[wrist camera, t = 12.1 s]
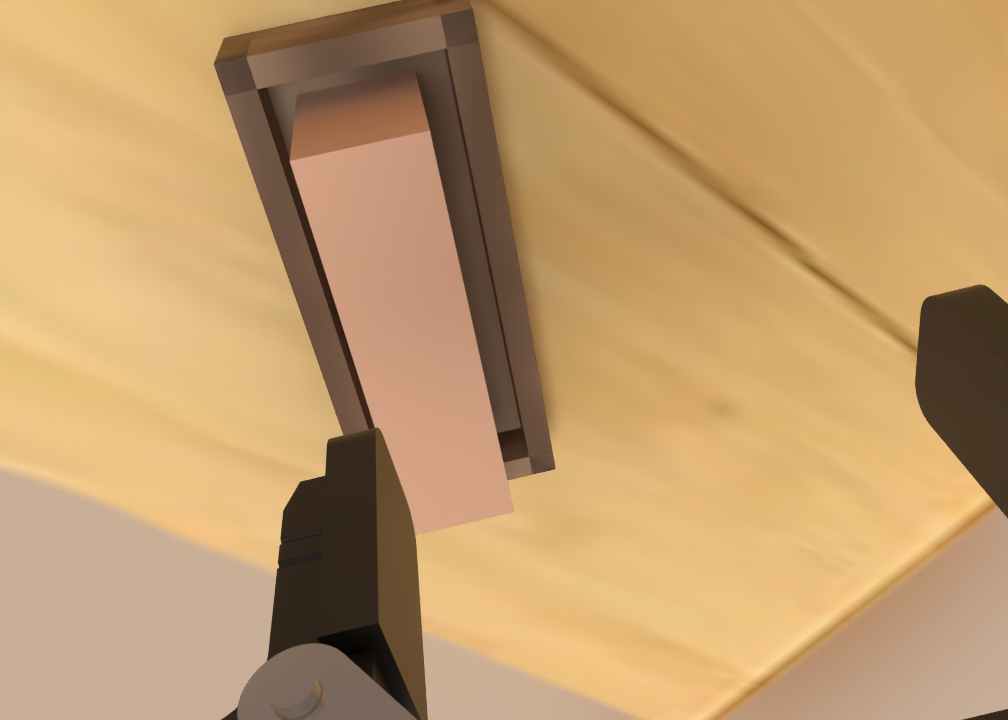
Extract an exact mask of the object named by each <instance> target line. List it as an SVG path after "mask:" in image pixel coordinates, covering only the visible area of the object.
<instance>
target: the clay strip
mask: <svg viewBox="0 0 1008 720" xmlns="http://www.w3.org/2000/svg"><path fill="white" fill-rule="evenodd" d="M290 164H291V167H292V170H293V173H294V176H295V180H296V183H297V186H298V189H299V192H300V195H301V198H302V201H303V205H304V208H305V211H306V214H307V217H308V220H309V223H310V226H311V230H312V233H313V236H314V239H315V242H316V245H317V248H318V251H319V255H320V258H321V261H322V264H323V267H324V270H325V273H326V276H327V280H328V283H329V286H330V289H331V292H332V295H333V298H334V301H335V305H336V308H337V311H338V314H339V317H340V320H341V323H342V326H343V330H344V333H345V336H346V339H347V342H348V345H349V348H350V351H351V355H352V358H353V361H354V364H355V367H356V370H357V373H358V376H359V380H360V383H361V386H362V389H363V392H364V395H365V398H366V401H367V405H368V408H369V411H370V414H371V417H372V420H373V423H374V426H375V428H377V427H378V428H379V429H380V430H381V432H382V434H383V436H384V439H385V442H386V444H387V447H388V450H389V453H390V455H391V458H392V461H393V464H394V466H395V469H396V472H397V475H398V477H399V480H400V483H401V486H402V488H403V491H404V494H405V497H406V499H407V502H408V505H409V509H410V513H411V517H412V521H413V526H414V531H415V535H417V534H421V533H425V532H429V531H434V530H438V529H442V528H447V527H451V526H455V525H459V524H464V523H468V522H472V521H477V520H481V519H485V518H490V517H494V516H498V515H502V514H507V513H511V512H514V508H513V504H512V499H511V495H510V490H509V486H508V481H507V477H506V472H505V468H504V463H503V459H502V454H501V450H500V445H499V441H498V436H497V432H496V427H495V422H494V418H493V413H492V409H491V404H490V400H489V395H488V391H487V386H486V382H485V377H484V373H483V368H482V364H481V359H480V355H479V350H478V346H477V341H476V337H475V332H474V328H473V323H472V319H471V314H470V310H469V305H468V300H467V296H466V291H465V287H464V282H463V278H462V273H461V269H460V264H459V260H458V255H457V251H456V246H455V242H454V237H453V233H452V228H451V224H450V219H449V215H448V210H447V206H446V201H445V197H444V192H443V188H442V183H441V178H440V174H439V169H438V165H437V160H436V156H435V151H434V147H433V142H432V138H431V133H430V129H429V125H428V121H427V117H426V113H425V109H424V105H423V101H422V97H421V93H420V89H419V85H418V81H417V77H416V73H415V70H410V71H405V72H401V73H396V74H391V75H387V76H382V77H378V78H373V79H368V80H364V81H359V82H354V83H350V84H345V85H340V86H336V87H331V88H326V89H322V90H317V91H313V92H308V93H303V94H299V95H297V101H296V109H295V118H294V127H293V135H292V144H291V153H290Z"/></svg>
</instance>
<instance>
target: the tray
mask: <svg viewBox="0 0 1008 720" xmlns="http://www.w3.org/2000/svg"><path fill="white" fill-rule="evenodd" d="M214 66H215V69H216V72H217V75H218V78H219V81H220V83H221V86H222V89H223V92H224V95H225V98H226V101H227V103H228V106H229V109H230V112H231V115H232V118H233V121H234V123H235V126H236V129H237V132H238V135H239V138H240V141H241V143H242V146H243V149H244V152H245V155H246V158H247V161H248V163H249V166H250V169H251V172H252V175H253V178H254V181H255V183H256V186H257V189H258V192H259V195H260V198H261V200H262V203H263V206H264V209H265V212H266V215H267V218H268V220H269V223H270V226H271V229H272V232H273V235H274V238H275V240H276V243H277V246H278V249H279V252H280V255H281V258H282V260H283V263H284V266H285V269H286V272H287V275H288V278H289V280H290V283H291V286H292V289H293V292H294V295H295V298H296V300H297V303H298V306H299V309H300V312H301V315H302V318H303V320H304V323H305V326H306V329H307V332H308V335H309V338H310V340H311V343H312V346H313V349H314V352H315V355H316V358H317V360H318V363H319V366H320V369H321V372H322V375H323V378H324V380H325V383H326V386H327V389H328V392H329V395H330V398H331V400H332V403H333V406H334V409H335V412H336V415H337V418H338V420H339V423H340V426H341V429H342V432H343V435H348V434H352V433H356V432H360V431H364V430H369V429H373V428H375V426H374V423H373V420H372V417H371V414H370V411H369V408H368V405H367V401H366V398H365V395H364V392H363V389H362V386H361V383H360V380H359V376H358V373H357V370H356V367H355V364H354V361H353V358H352V355H351V351H350V348H349V345H348V342H347V339H346V336H345V333H344V330H343V326H342V323H341V320H340V317H339V314H338V311H337V308H336V305H335V301H334V298H333V295H332V292H331V289H330V286H329V283H328V280H327V276H326V273H325V270H324V267H323V264H322V261H321V258H320V255H319V251H318V248H317V245H316V242H315V239H314V236H313V233H312V230H311V226H310V223H309V220H308V217H307V214H306V211H305V208H304V205H303V201H302V198H301V195H300V192H299V189H298V186H297V183H296V180H295V176H294V173H293V170H292V167H291V164H290V153H291V144H292V135H293V127H294V118H295V109H296V101H297V95H299V94H303V93H308V92H313V91H317V90H322V89H326V88H331V87H336V86H340V85H345V84H350V83H354V82H359V81H364V80H368V79H373V78H378V77H382V76H387V75H391V74H396V73H401V72H405V71H410V70H415V73H416V77H417V81H418V85H419V89H420V93H421V97H422V101H423V105H424V109H425V113H426V117H427V121H428V125H429V129H430V133H431V138H432V142H433V147H434V151H435V156H436V160H437V165H438V169H439V174H440V178H441V183H442V188H443V192H444V197H445V201H446V206H447V210H448V215H449V219H450V224H451V228H452V233H453V237H454V242H455V246H456V251H457V255H458V260H459V264H460V269H461V273H462V278H463V282H464V287H465V291H466V296H467V300H468V305H469V310H470V314H471V319H472V323H473V328H474V332H475V337H476V341H477V346H478V350H479V355H480V359H481V364H482V368H483V373H484V377H485V382H486V386H487V391H488V395H489V400H490V404H491V409H492V413H493V418H494V422H495V427H496V432H497V436H498V441H499V445H500V450H501V454H502V459H503V463H504V468H505V472H506V477H507V480H511V479H515V478H519V477H524V476H528V475H532V474H536V473H541V472H545V471H549V470H554V469H556V468H555V463H554V457H553V452H552V446H551V441H550V435H549V430H548V424H547V419H546V413H545V408H544V402H543V396H542V391H541V385H540V380H539V374H538V369H537V363H536V358H535V352H534V347H533V341H532V336H531V330H530V324H529V319H528V313H527V308H526V302H525V297H524V291H523V286H522V280H521V275H520V269H519V264H518V258H517V252H516V247H515V241H514V236H513V230H512V225H511V219H510V214H509V208H508V203H507V197H506V192H505V186H504V180H503V175H502V169H501V164H500V158H499V153H498V147H497V142H496V136H495V131H494V125H493V120H492V114H491V108H490V103H489V97H488V92H487V86H486V81H485V75H484V70H483V64H482V59H481V53H480V48H479V42H478V36H477V31H476V25H475V20H474V14H473V9H472V7H471V5H470V3H469V1H468V0H402V1H397V2H392V3H388V4H383V5H378V6H374V7H369V8H364V9H360V10H355V11H350V12H346V13H341V14H336V15H332V16H327V17H322V18H318V19H313V20H308V21H304V22H299V23H294V24H290V25H285V26H280V27H276V28H271V29H266V30H262V31H257V32H252V33H248V34H243V35H238V36H234V37H229V38H224V40H223V42H222V45H221V47H220V50H219V52H218V55H217V57H216V60H215V62H214Z"/></svg>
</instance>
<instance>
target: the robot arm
mask: <svg viewBox="0 0 1008 720" xmlns="http://www.w3.org/2000/svg"><path fill="white" fill-rule="evenodd" d="M915 387H916V394H917V399H918V402H919V405H920V408H921V410H922V413H923V415H924V417H925V418H926V420H927V421H928V423H929V424H930V425H931V427H932V428H933V429H934V430H935V431H936V433H937V434H938V435H939V436H940V437H941V439H942V440H943V441H944V442H945V443H946V445H947V446H948V447H949V448H950V449H951V451H952V452H953V453H954V454H955V455H956V457H957V458H958V459H959V460H960V461H961V463H962V464H963V465H964V466H965V467H966V469H967V470H968V471H969V472H970V473H971V475H972V476H973V477H974V478H975V479H976V481H977V482H978V483H979V484H980V485H981V487H982V488H983V489H984V490H985V491H986V493H987V494H988V495H989V496H990V497H991V499H992V500H993V501H994V502H995V503H996V505H997V506H998V507H999V508H1000V509H1001V511H1002V512H1003V513H1004V514H1005V515H1006V517H1007V518H1008V304H1007V303H1006V302H1005V301H1004V300H1003V299H1002V298H1000V297H999V296H998V295H997V294H996V293H995V292H993V291H992V290H991V289H990V288H988V287H987V286H985V285H975V286H971V287H967V288H963V289H959V290H954V291H950V292H946V293H942V294H938V295H934V296H929V297H927V298H926V299H925V300H924V302H923V304H922V307H921V314H920V327H919V339H918V352H917V365H916V378H915ZM281 543H282V544H281V545H280V548H279V558H278V564H279V568H278V569H277V577H276V586H275V596H274V605H273V606H274V607H273V615H272V624H271V634H270V643H269V653H268V658H267V662H265V663H264V664H263V665H262V666H261V667H260V668H259V669H258V670H257V671H256V672H255V673H254V674H253V676H252V677H251V678H250V680H249V681H248V683H247V684H246V686H245V687H244V690H243V692H242V694H241V696H240V700H239V704H238V707H237V708H236V709H235V710H234V711H233V712H231V713H230V714H229V715H227V716H226V717H225V718H223V719H222V720H428V717H427V702H426V686H425V671H424V656H423V640H422V625H421V610H420V594H419V579H418V563H417V548H416V538H415V531H414V526H413V521H412V517H411V513H410V509H409V505H408V502H407V499H406V497H405V494H404V491H403V488H402V486H401V483H400V480H399V477H398V475H397V472H396V469H395V466H394V464H393V461H392V458H391V455H390V453H389V450H388V447H387V444H386V442H385V439H384V436H383V434H382V432H381V430H380V429H379V428H378V427H377V428H373V429H369V430H364V431H360V432H356V433H352V434H348V435H344V436H339V437H335V438H331V439H329V440H328V443H327V454H326V473H325V476H322V477H318V478H314V479H310V480H306V481H302V482H300V483H299V485H298V487H297V488H296V490H295V492H294V493H293V495H292V497H291V498H290V500H289V502H288V504H287V505H286V507H285V509H284V510H283V520H282V529H281ZM964 720H1008V709H1006V710H1002V711H997V712H993V713H989V714H985V715H980V716H977V717H973V718H968V719H964Z"/></svg>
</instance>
